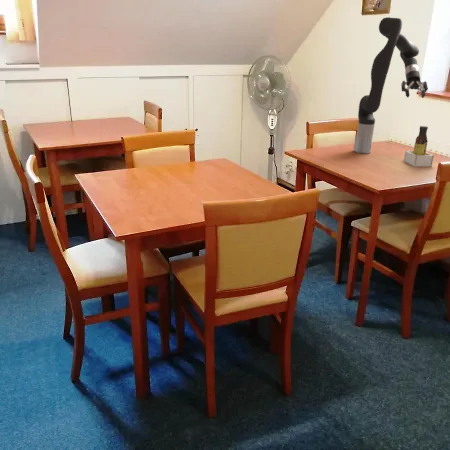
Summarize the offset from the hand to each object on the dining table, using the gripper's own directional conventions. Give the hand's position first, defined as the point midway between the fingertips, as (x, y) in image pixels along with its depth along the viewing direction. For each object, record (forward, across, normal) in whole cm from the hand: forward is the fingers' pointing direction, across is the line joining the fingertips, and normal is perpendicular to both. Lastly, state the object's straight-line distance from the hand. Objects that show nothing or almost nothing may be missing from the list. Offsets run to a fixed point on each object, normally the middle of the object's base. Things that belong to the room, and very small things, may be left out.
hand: (415, 96), depth 265 cm
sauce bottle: (+39, -1, +7) cm, 40 cm away
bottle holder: (+40, -1, +8) cm, 41 cm away
